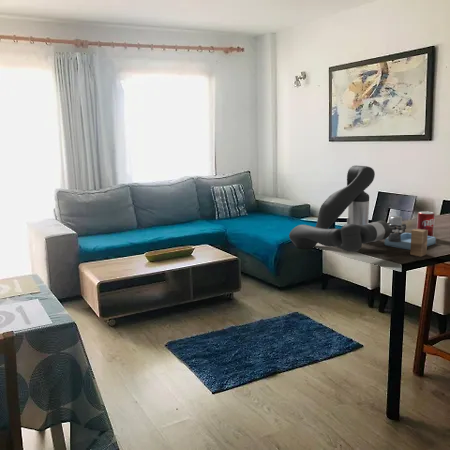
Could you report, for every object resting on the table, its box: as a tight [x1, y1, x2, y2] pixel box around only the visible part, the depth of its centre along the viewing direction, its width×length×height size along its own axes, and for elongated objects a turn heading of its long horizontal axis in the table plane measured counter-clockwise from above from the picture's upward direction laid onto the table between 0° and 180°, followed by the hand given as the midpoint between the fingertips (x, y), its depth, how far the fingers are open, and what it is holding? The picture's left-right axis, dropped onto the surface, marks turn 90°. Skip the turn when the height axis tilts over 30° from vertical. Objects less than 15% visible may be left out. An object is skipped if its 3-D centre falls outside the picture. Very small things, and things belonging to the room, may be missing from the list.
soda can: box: [416, 210, 436, 237], centre depth 230 cm, size 7×7×12 cm
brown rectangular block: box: [409, 228, 428, 257], centre depth 201 cm, size 4×4×10 cm
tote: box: [384, 232, 437, 251], centre depth 219 cm, size 18×14×3 cm
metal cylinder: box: [387, 215, 403, 242], centre depth 207 cm, size 5×5×10 cm
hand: (398, 225), depth 209 cm, fingers closed on metal cylinder, 5 cm apart
